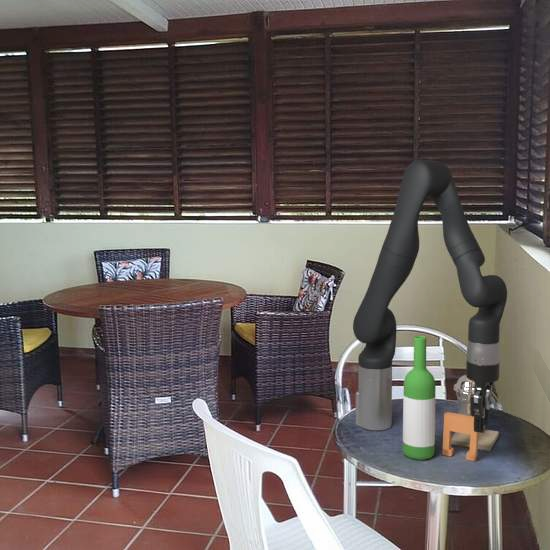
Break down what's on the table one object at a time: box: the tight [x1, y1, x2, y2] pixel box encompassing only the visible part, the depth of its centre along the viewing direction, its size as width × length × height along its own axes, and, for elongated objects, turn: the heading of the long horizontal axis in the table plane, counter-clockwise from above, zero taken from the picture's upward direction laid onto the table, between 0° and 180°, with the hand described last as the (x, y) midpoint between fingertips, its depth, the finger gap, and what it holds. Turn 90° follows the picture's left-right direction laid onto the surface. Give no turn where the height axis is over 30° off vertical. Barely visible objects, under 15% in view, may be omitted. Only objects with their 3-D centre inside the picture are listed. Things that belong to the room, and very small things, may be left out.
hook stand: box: [451, 377, 500, 452], centre depth 171 cm, size 10×14×20 cm
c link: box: [442, 411, 479, 462], centre depth 163 cm, size 8×2×10 cm, turn 61°
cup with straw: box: [453, 374, 472, 416], centre depth 184 cm, size 8×9×20 cm
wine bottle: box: [402, 335, 437, 461], centre depth 163 cm, size 8×8×30 cm
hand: (480, 427), depth 160 cm, fingers open, 4 cm apart
